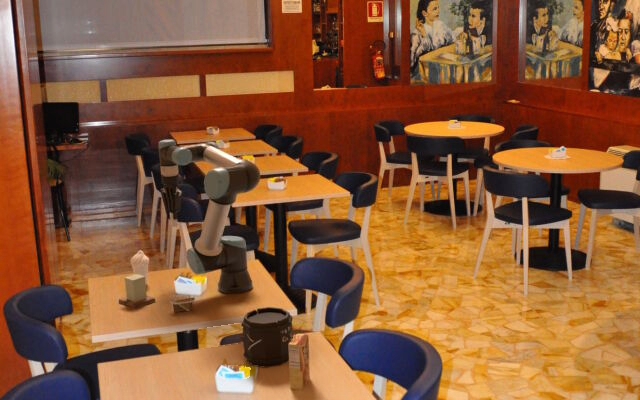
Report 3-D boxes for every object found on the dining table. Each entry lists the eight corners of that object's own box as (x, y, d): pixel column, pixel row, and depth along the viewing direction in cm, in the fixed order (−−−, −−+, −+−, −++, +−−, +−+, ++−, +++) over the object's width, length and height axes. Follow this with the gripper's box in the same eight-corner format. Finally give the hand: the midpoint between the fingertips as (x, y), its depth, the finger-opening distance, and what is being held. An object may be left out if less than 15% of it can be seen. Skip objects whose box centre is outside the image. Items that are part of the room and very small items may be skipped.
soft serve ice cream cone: (138, 288, 354) (135, 254, 350) (129, 284, 360) (125, 250, 356) (154, 284, 359) (151, 250, 356) (145, 280, 365) (142, 246, 362)
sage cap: (146, 298, 337) (144, 276, 335) (135, 302, 333) (132, 280, 330) (138, 295, 341) (136, 273, 339) (126, 299, 337) (124, 277, 334)
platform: (207, 314, 320) (206, 299, 319) (162, 320, 316) (160, 304, 315) (204, 304, 332) (203, 289, 330) (160, 310, 328) (159, 295, 326)
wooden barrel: (246, 347, 285) (243, 306, 282) (296, 346, 284) (293, 305, 281) (238, 369, 268) (235, 325, 264) (291, 368, 267) (289, 324, 263)
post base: (155, 301, 337) (153, 282, 335) (135, 308, 329) (133, 289, 328) (138, 295, 345) (136, 277, 343) (119, 302, 337) (117, 283, 336)
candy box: (298, 376, 260) (296, 333, 257) (310, 378, 259) (308, 334, 255) (289, 389, 252) (287, 344, 248) (302, 390, 251) (300, 345, 247)
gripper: (153, 174, 353) (158, 226, 358) (172, 177, 344) (177, 230, 350) (167, 172, 358) (171, 222, 363) (185, 174, 350) (190, 226, 355)
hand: (174, 226), depth 357 cm, fingers closed
